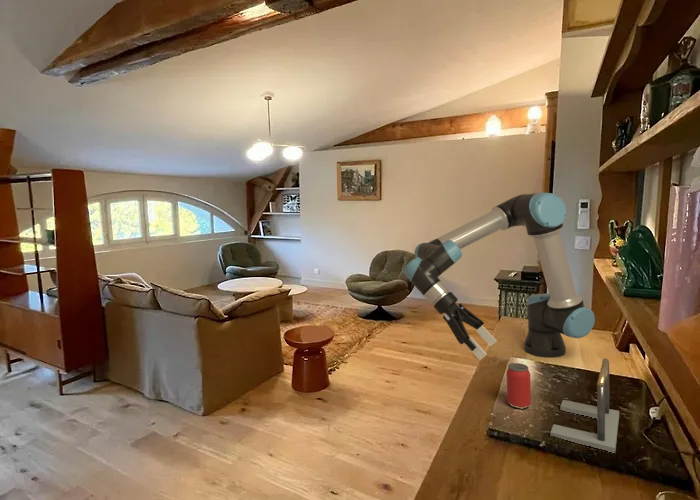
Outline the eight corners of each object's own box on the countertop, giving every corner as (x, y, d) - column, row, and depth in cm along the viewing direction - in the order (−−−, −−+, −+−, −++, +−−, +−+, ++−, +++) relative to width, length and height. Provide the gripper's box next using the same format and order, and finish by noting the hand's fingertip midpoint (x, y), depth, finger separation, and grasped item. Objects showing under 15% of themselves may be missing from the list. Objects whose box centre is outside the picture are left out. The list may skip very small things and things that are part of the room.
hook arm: (602, 415, 114) (602, 357, 112) (609, 416, 113) (609, 358, 111) (597, 445, 101) (596, 380, 99) (604, 447, 100) (604, 382, 98)
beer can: (531, 411, 119) (530, 371, 117) (507, 408, 121) (506, 370, 120) (530, 400, 125) (529, 363, 124) (507, 398, 127) (506, 361, 126)
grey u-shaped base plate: (563, 404, 121) (562, 399, 121) (619, 416, 113) (619, 410, 113) (550, 437, 105) (550, 432, 105) (615, 453, 97) (615, 448, 97)
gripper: (445, 297, 145) (489, 345, 138) (419, 314, 123) (469, 371, 117) (460, 284, 141) (505, 332, 135) (436, 298, 120) (488, 356, 114)
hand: (488, 350), depth 126 cm, fingers open, 13 cm apart
